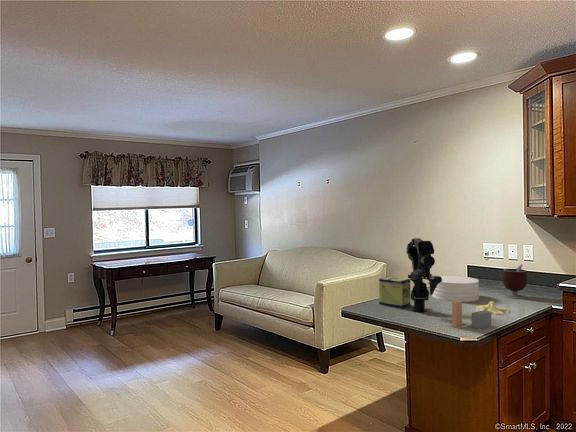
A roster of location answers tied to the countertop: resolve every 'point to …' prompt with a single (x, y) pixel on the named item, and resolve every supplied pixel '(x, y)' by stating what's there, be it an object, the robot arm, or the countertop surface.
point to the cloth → (492, 308)
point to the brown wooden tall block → (456, 313)
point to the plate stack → (457, 289)
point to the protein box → (394, 292)
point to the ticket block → (479, 320)
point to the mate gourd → (515, 281)
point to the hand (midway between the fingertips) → (424, 293)
